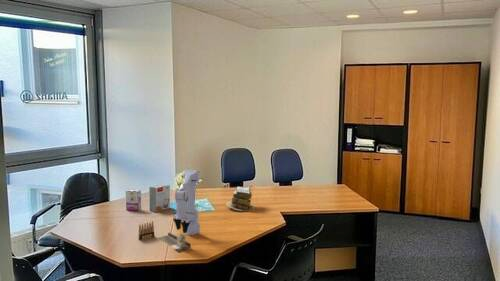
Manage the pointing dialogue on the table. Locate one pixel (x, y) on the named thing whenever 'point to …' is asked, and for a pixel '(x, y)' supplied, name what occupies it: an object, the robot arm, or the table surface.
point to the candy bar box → (133, 200)
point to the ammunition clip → (146, 231)
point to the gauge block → (181, 240)
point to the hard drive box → (159, 197)
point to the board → (174, 242)
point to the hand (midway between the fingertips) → (181, 230)
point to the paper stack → (241, 200)
